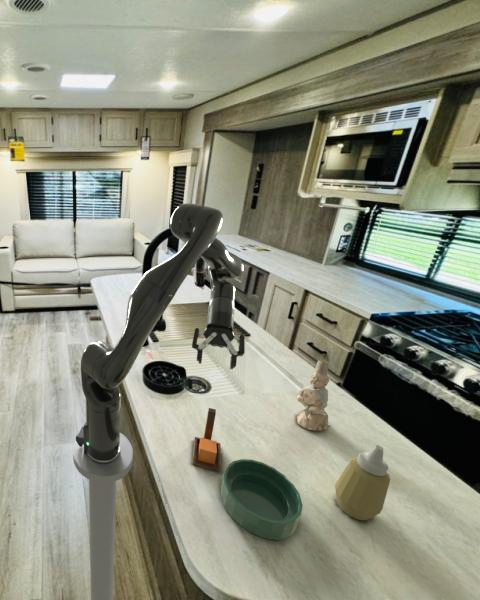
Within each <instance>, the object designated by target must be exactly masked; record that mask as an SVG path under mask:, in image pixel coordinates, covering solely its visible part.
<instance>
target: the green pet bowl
mask: <svg viewBox="0 0 480 600" xmlns="http://www.w3.org/2000/svg"><path fill="white" fill-rule="evenodd" d="M220 498H221V501H222V504H223V506H224V508H225V510H226V511H227V512H228V514H229V515H230V516H231V518H232V519H233V520H234V522H237V524H239V526H240V527H241V528H243V529H245V530H246V531H248V532H250V533H251V534H253V535H254V536H258V537H261V538H264V539H267V540H278V541H280V540H284V539H287V538H289V537H291V536H292V535H293V533H294V532H295V531H296V530H297V527H298V524H299V521H300V518H301V516H302V512H303V501H302V498H301V494H300V493H299V490H297V488H296V485H294V483H293V482H292V481H291V480H290V479H289V478H288V477H287V476H286V475H284V474H283V473H282V472H280V471H279V470H278V469H276V468H275V467H272V466H270V465H269V464H267V463H264V462H262V461H258V460H254V459H247V458H246V459H245V458H240V459H237V460H233V461H232V462H230V463H229V464H228V465H226V467H225V469H224V471H223V474H222V479H221V485H220Z"/></svg>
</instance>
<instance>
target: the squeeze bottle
mask: <svg viewBox="0 0 480 600" xmlns="http://www.w3.org/2000/svg"><path fill="white" fill-rule="evenodd" d="M388 471H389V465H388V463H387V462H386V461H385V460H384V448H383V446H380V445H375V446H374V447H373V448H372V449H371V450H370V451H369V452H366V451H362V452H360V453H359V454H358V456H356V457H352V458H351V459H350V460H349V462H348V463H347V465H346V466H345V468H344V470H343V471H342V473H341V474H340V476H339V478H338V479H337V480H336V482H335V484H334V489H335V497H336V503H337V505H338V506H339V508H340V509H341V510H342V511H343V512H344V513H345V514H347V515H348V516H350V517H351V518H354V519H356V520H358V521H367V520H370V519H372V518H374V517H375V516H377V515H379V514H381V512H382V510H383V508H384V504H385V501H386V498H387V494H388V490H389V486H390V483H391V477H390V474H389V473H388Z"/></svg>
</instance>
